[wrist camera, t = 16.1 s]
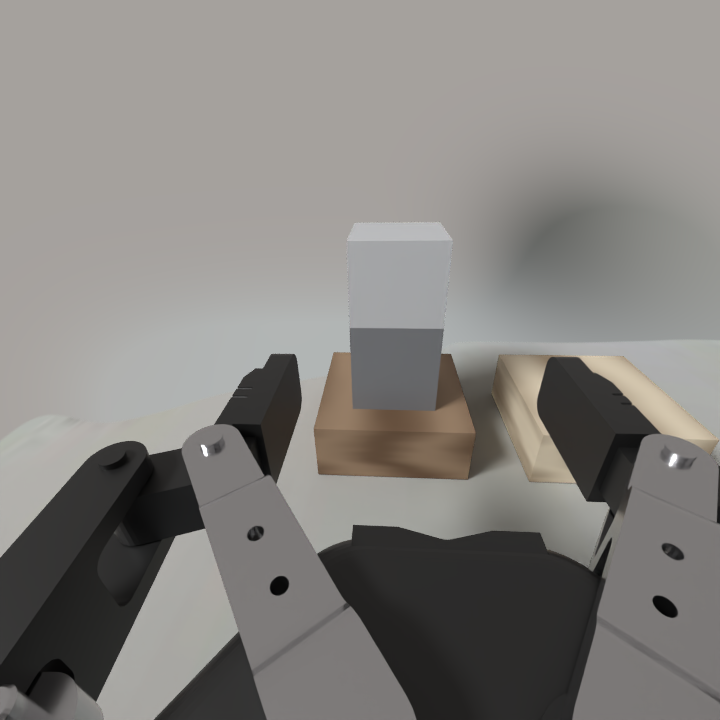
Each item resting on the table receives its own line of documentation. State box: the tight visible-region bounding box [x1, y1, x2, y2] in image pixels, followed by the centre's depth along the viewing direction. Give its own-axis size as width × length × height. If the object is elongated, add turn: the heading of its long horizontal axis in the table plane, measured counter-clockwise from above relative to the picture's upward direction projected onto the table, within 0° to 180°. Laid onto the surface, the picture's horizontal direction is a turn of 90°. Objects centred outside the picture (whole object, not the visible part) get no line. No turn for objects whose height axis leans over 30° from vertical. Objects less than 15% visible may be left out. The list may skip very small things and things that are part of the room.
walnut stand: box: [314, 352, 476, 479], centre depth 28 cm, size 10×10×4 cm
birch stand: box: [492, 355, 719, 483], centre depth 27 cm, size 10×10×4 cm
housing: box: [347, 222, 453, 411], centre depth 24 cm, size 6×6×11 cm
